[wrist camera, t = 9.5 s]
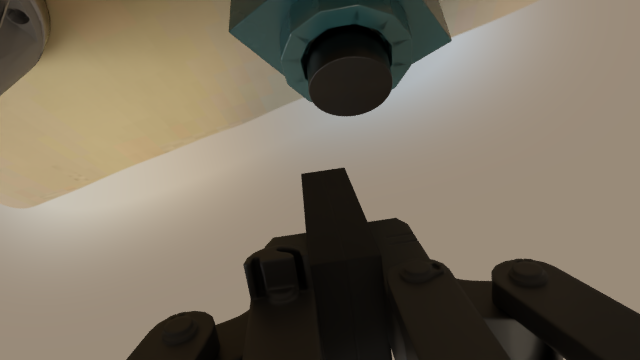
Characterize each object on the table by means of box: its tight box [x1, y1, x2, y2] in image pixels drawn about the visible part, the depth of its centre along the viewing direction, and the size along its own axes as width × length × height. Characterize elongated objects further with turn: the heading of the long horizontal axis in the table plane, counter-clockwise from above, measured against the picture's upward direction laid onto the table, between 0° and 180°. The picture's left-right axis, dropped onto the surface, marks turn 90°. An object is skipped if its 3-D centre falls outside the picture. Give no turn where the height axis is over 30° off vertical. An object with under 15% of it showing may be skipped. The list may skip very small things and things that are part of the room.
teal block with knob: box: [229, 0, 451, 102], centre depth 30 cm, size 10×10×11 cm
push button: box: [307, 25, 393, 116], centre depth 26 cm, size 5×5×3 cm
